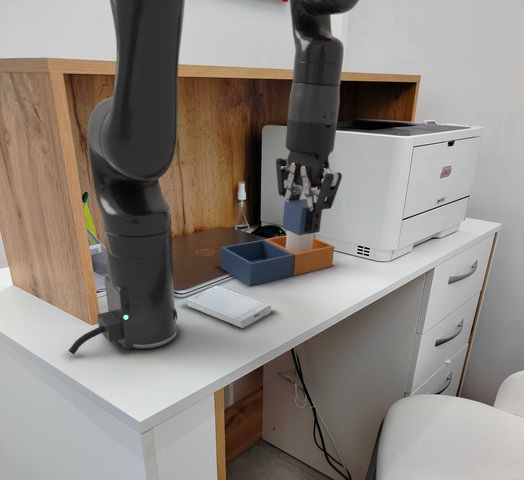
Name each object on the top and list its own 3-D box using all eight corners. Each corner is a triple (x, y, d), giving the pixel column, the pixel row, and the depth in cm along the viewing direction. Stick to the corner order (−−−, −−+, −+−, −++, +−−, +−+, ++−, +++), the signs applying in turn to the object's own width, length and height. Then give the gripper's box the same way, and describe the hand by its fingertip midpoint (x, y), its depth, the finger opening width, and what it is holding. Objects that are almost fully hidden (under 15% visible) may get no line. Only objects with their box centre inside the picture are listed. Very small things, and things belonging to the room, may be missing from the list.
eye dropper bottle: (293, 254, 111) (298, 200, 105) (313, 261, 108) (320, 206, 102) (281, 259, 108) (285, 204, 102) (302, 266, 105) (307, 209, 99)
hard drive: (186, 298, 86) (241, 320, 80) (217, 284, 92) (271, 304, 86) (186, 307, 87) (241, 329, 81) (217, 292, 93) (271, 312, 87)
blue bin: (250, 285, 96) (250, 264, 94) (220, 267, 103) (221, 247, 101) (292, 275, 102) (294, 254, 99) (262, 259, 109) (263, 239, 107)
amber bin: (293, 275, 102) (295, 254, 100) (263, 259, 109) (264, 239, 107) (331, 266, 108) (334, 246, 105) (300, 251, 115) (302, 232, 112)
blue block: (298, 235, 81) (301, 208, 79) (282, 228, 84) (284, 201, 82) (319, 232, 83) (322, 205, 81) (302, 224, 86) (305, 198, 84)
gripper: (264, 112, 78) (258, 219, 86) (325, 124, 68) (311, 244, 77) (301, 112, 82) (291, 215, 90) (363, 123, 72) (346, 237, 81)
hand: (301, 227), depth 84 cm, fingers closed on blue block, 4 cm apart
